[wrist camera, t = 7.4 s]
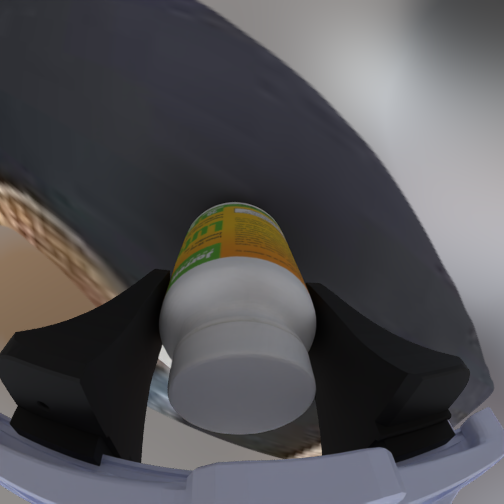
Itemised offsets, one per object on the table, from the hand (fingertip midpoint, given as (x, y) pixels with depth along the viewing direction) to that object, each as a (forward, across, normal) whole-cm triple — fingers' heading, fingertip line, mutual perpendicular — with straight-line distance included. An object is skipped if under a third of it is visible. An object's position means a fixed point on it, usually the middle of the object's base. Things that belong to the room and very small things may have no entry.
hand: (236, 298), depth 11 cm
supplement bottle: (+5, 0, 0) cm, 5 cm away
